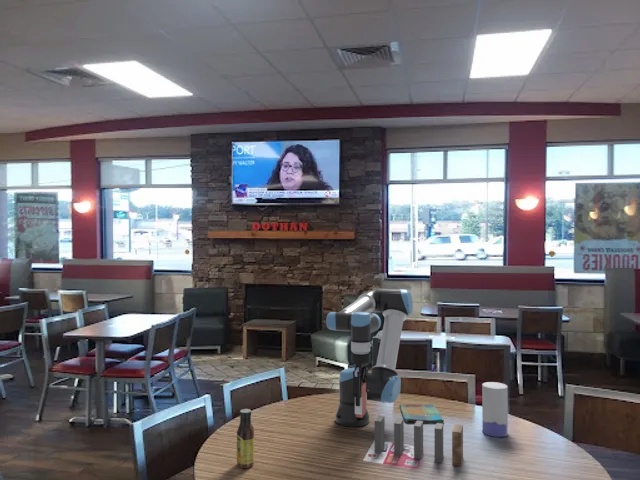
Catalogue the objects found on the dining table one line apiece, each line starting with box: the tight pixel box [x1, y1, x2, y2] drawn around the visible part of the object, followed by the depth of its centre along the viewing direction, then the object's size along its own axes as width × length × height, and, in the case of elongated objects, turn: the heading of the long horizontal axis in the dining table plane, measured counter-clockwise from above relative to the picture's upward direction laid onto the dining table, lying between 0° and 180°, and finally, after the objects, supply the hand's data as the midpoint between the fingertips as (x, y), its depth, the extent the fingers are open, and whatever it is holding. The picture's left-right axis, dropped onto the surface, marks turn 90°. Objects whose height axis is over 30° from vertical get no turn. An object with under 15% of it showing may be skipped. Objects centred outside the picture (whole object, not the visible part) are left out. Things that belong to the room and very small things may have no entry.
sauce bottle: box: [236, 408, 255, 469], centre depth 182 cm, size 7×6×20 cm
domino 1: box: [374, 415, 386, 454], centre depth 195 cm, size 2×6×12 cm, turn 159°
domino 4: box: [434, 423, 444, 463], centre depth 187 cm, size 2×6×12 cm, turn 159°
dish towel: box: [399, 403, 445, 425], centre depth 235 cm, size 17×23×2 cm
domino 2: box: [393, 417, 405, 457], centre depth 193 cm, size 2×6×12 cm, turn 159°
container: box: [481, 381, 509, 438], centre depth 213 cm, size 10×10×20 cm
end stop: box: [451, 423, 464, 467], centre depth 185 cm, size 3×8×12 cm, turn 159°
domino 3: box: [413, 420, 424, 460], centre depth 190 cm, size 2×6×12 cm, turn 159°
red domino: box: [356, 382, 366, 418], centre depth 198 cm, size 2×6×12 cm, turn 159°
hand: (360, 411), depth 198 cm, fingers closed on red domino, 6 cm apart
